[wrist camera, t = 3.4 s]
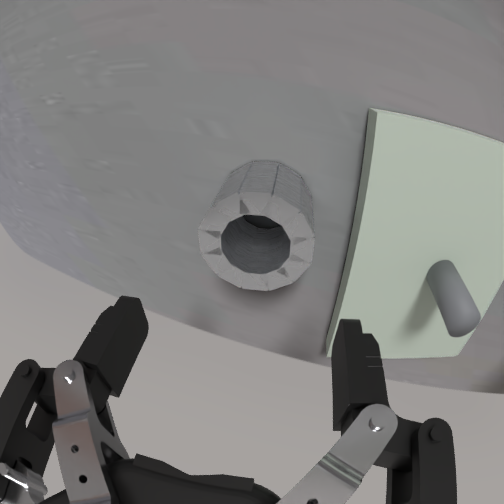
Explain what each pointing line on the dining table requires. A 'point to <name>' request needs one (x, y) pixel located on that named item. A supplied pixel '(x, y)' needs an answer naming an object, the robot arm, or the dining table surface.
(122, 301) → the robot arm
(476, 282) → the post base
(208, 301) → the dining table surface
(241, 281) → the cylinder
